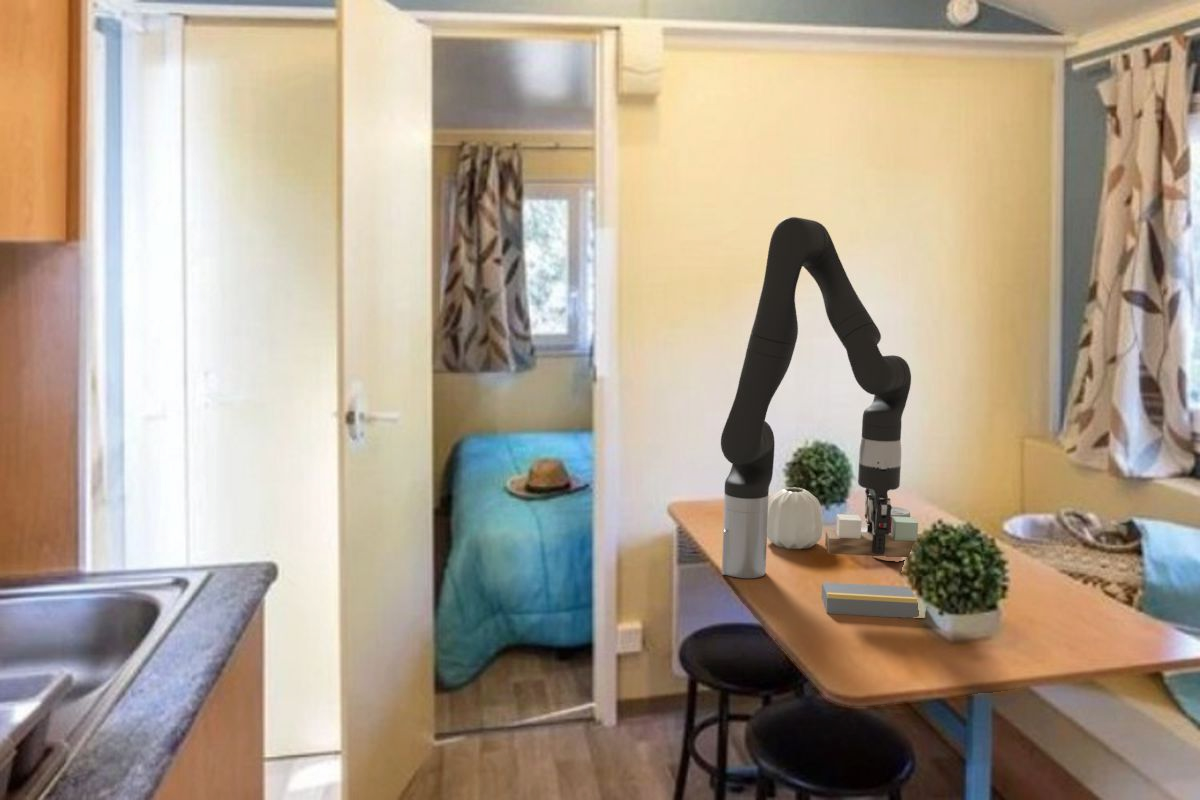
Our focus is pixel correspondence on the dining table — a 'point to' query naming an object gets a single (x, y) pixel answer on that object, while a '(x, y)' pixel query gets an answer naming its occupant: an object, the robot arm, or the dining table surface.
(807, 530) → the vase
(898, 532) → the block
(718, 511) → the dining table surface
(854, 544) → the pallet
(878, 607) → the block
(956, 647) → the dining table surface
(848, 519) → the block
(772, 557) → the dining table surface
